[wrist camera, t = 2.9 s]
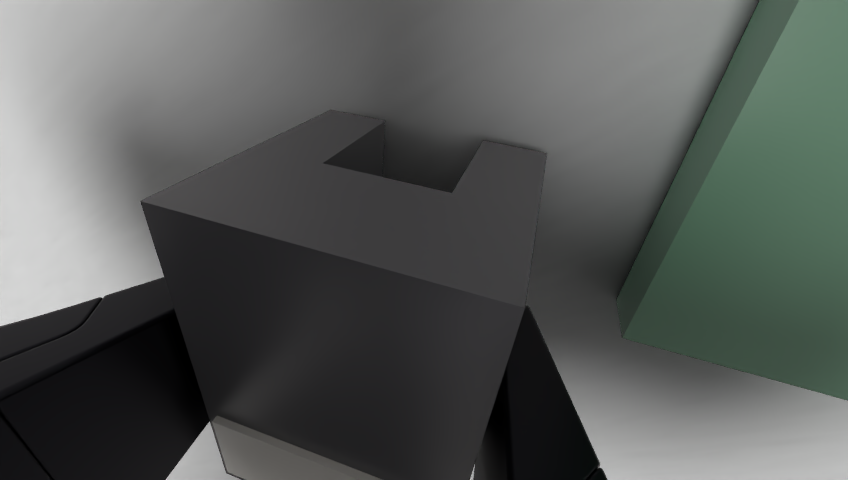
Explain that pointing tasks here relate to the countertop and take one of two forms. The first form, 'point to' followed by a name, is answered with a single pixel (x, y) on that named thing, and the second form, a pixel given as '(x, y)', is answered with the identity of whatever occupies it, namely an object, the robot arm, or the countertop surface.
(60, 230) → the countertop surface
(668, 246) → the header board
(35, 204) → the countertop surface
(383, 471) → the plug
